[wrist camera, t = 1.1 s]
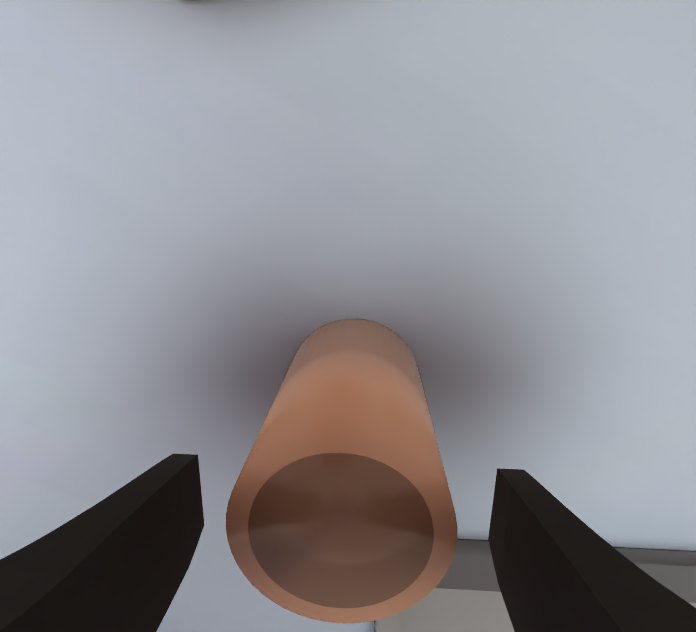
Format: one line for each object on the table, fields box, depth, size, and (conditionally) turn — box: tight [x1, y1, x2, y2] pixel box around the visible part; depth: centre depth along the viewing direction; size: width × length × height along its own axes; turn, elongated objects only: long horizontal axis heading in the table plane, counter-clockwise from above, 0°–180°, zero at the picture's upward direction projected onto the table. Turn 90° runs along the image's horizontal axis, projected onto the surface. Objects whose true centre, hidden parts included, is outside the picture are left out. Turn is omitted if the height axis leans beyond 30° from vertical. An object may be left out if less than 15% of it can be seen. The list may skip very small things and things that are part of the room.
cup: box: [226, 319, 457, 623], centre depth 13 cm, size 5×5×8 cm
